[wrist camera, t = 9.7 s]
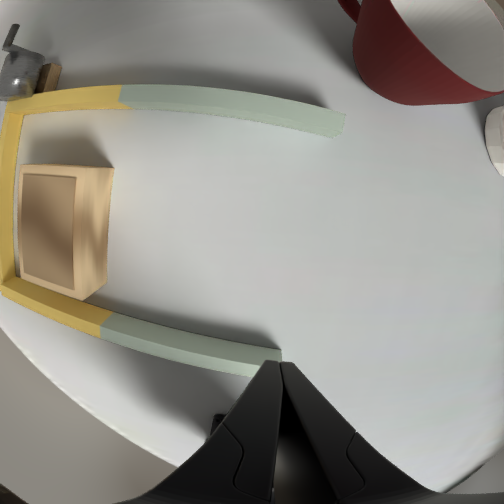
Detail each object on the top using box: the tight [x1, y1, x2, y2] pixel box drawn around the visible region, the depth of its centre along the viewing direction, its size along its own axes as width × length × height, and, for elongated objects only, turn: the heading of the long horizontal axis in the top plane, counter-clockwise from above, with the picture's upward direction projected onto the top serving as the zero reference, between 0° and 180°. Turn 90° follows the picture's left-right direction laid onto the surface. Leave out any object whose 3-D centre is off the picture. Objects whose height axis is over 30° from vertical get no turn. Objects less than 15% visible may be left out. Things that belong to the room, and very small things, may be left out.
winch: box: [0, 24, 62, 102], centre depth 12 cm, size 6×4×7 cm, turn 169°
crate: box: [18, 164, 114, 301], centre depth 17 cm, size 9×7×4 cm
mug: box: [338, 0, 504, 106], centre depth 10 cm, size 11×8×10 cm
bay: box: [0, 84, 346, 377], centre depth 18 cm, size 18×28×2 cm, turn 79°
